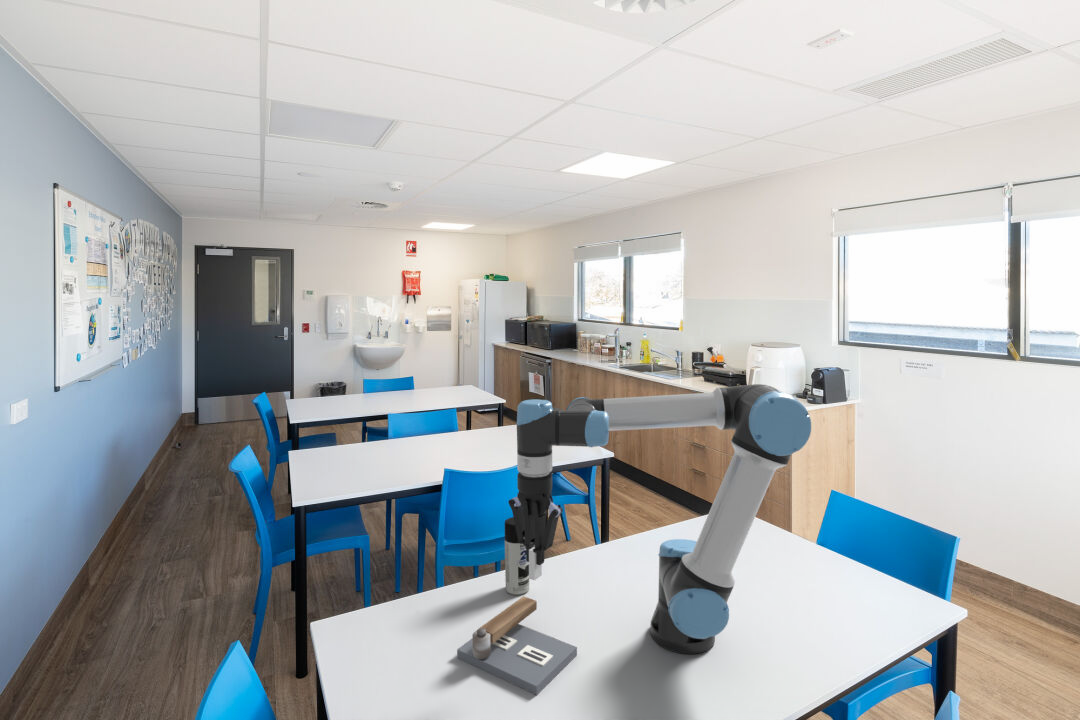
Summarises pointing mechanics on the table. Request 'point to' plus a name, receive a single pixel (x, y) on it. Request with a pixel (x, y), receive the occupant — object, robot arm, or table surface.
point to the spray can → (515, 561)
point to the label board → (523, 658)
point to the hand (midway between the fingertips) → (535, 576)
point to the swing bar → (501, 626)
